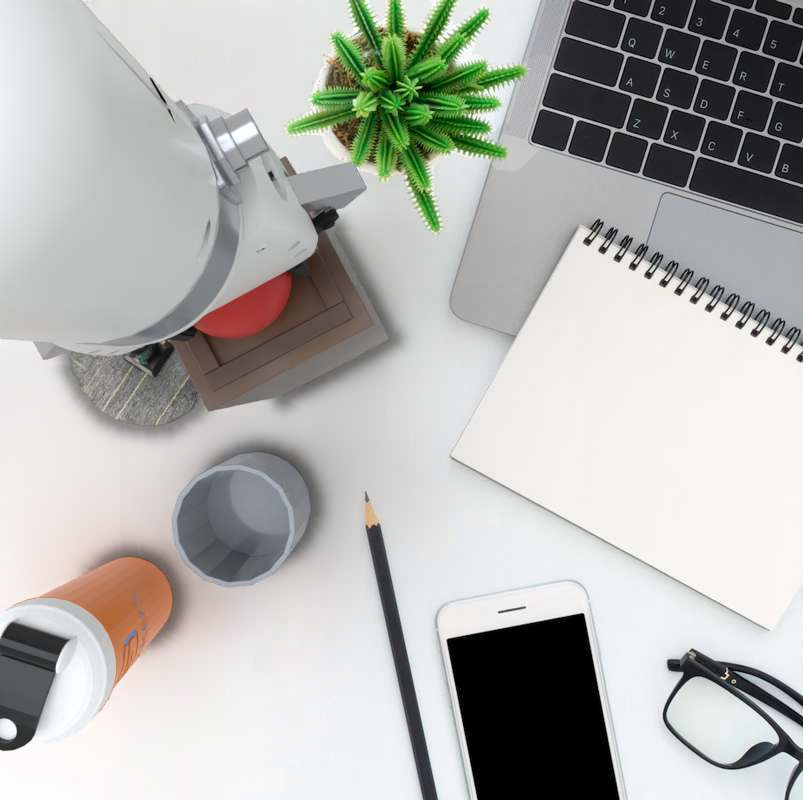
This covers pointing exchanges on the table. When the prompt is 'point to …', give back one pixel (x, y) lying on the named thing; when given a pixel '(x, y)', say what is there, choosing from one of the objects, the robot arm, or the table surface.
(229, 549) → the steel cup
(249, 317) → the apple
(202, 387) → the crate
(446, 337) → the table surface
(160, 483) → the table surface
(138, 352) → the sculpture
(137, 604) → the shaker bottle
